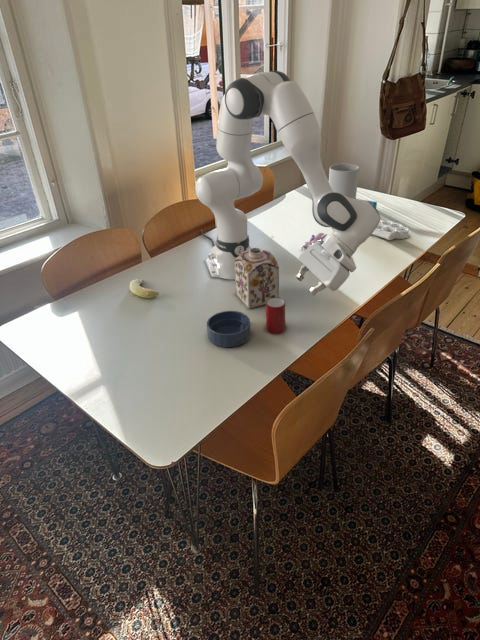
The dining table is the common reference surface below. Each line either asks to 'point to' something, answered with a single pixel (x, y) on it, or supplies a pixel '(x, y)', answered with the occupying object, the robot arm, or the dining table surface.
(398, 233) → the egg carton
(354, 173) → the cylinder vase
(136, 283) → the fruit
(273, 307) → the can
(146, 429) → the dining table surface
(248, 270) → the decorative jar
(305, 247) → the pink antlered figurine
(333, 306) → the dining table surface
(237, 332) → the bowl
